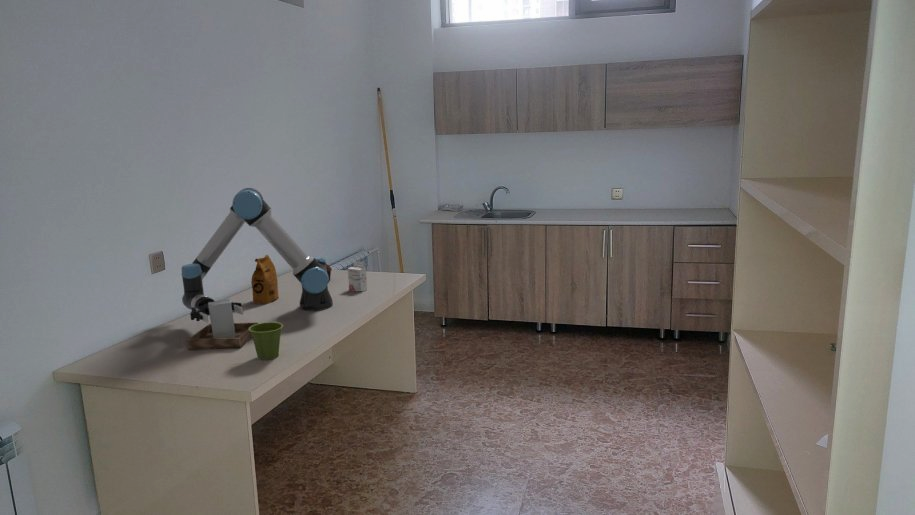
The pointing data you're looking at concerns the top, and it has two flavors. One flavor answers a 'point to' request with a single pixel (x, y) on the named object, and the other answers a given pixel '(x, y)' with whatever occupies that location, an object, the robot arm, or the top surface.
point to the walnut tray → (207, 341)
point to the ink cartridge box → (357, 277)
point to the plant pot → (266, 339)
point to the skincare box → (222, 319)
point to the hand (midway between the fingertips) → (224, 315)
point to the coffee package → (264, 281)
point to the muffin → (328, 271)
